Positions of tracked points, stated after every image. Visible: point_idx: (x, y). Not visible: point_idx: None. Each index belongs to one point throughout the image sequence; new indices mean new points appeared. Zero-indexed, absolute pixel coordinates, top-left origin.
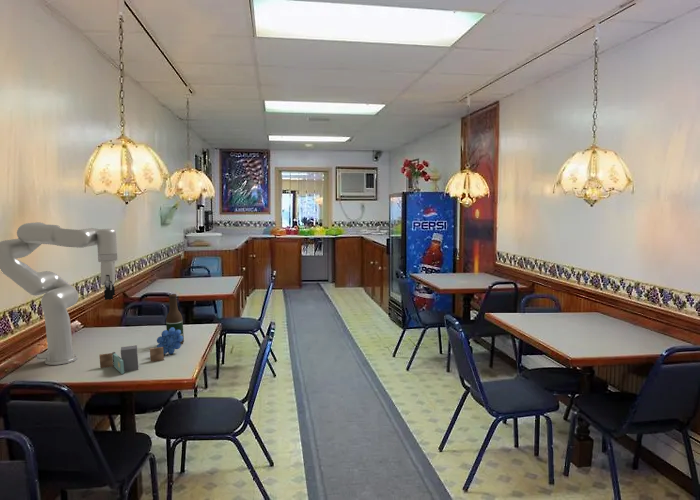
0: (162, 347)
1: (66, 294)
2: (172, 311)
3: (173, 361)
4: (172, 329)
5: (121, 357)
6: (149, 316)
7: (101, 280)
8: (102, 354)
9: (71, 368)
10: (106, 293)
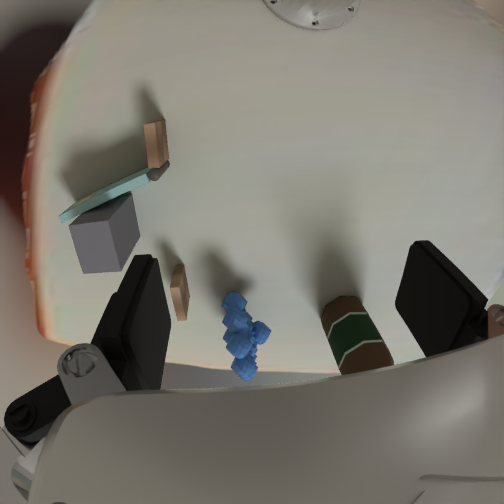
0: (179, 319)
1: None
2: None
3: None
4: (236, 372)
5: (80, 216)
6: None
7: (29, 499)
8: (151, 134)
9: (194, 26)
10: (99, 327)
